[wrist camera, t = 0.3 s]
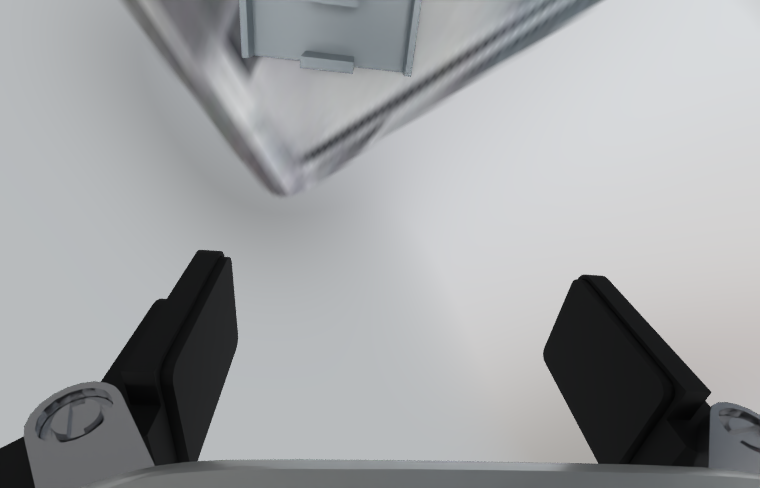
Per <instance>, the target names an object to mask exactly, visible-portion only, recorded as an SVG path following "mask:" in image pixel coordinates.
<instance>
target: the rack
mask: <svg viewBox="0 0 760 488" xmlns="http://www.w3.org/2000/svg"><path fill="white" fill-rule="evenodd" d="M421 1H422V0H239V9H240V29H241V48H242V57H243V58H250V57H252V56H254V55H256V56H264V57H273V58H282V59H291V60H299V61H300V68H307V69H316V70H324V71H333V72H342V73H351V74H353V67H360V68H369V69H378V70H386V71H395V72H403V74H404V75H405V76H410V77H411V72H412V65H413V58H414V51H415V44H416V37H417V30H418V23H419V16H420V8H421Z"/></svg>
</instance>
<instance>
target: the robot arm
mask: <svg viewBox="0 0 760 488" xmlns="http://www.w3.org/2000/svg"><path fill="white" fill-rule="evenodd" d="M234 297H235V296H234V286H233V273H232V262H231V258H230V257H224V254H223V252H222V251H209V250H198V251H197V252H196V254H195V256H194V257H193V259H192V261H191V262H190V263H189V265H188V267H187V268H186V270H185V271H184V273H183V274H182V276H181V278H180V279H179V281H178V282H177V284H176V285H175V287H174V288H173V290H172V292H171V293H170V295H169V296H168V298H167V299H159V300H157V301H156V302H155V303H154V304H153V305H152V307H151V308H150V310H149V311H148V313H147V314H146V316H145V317H144V319H143V320H142V322H141V323H140V324H139V326H138V328H137V329H136V331H135V332H134V334H133V335H132V337H131V338H130V339H129V341H128V342H127V344H126V345H125V347H124V348H123V350H122V351H121V353H120V354H119V356H118V357H117V359H116V360H115V362H114V363H113V365H112V366H111V368H110V370H108V372H107V373H106V375H105V376H104V378H103V379H102V381H101V382H87V383H80V384H77V385H74V386H71V387H67V388H65V389H63V390H61V391H59V392H57V393H55V394H53V395H52V396H50V397H49V398H48V399H46V400H45V401H43V402H42V403H41V404H40V405H39V406H38V407H37V408H36V409H35V410H34V411H33V412H32V414H31V415H30V416H29V418H28V420H27V422H26V424H25V426H24V437H22V438H20V439H18V440H16V441H14V442H12V443H10V444H8V445H6V446H4V447H2V448H0V488H760V415H759V414H757V413H755V412H753V411H751V410H750V409H748V408H745V407H742V406H740V405H737V404H733V403H728V402H720V403H719V402H718V403H716V404H714V405H713V406H712V407H710V406H709V405H708V404H707V403H706V401H705V400H706V399H707V397H708V396H709V395H710V394H711V391H710V390H709V389H708V388H707V387H706V386H705V385H704V384H703V383H702V381H701V380H700V379H699V378H698V377H697V376H696V375H695V374H694V373H693V372H692V370H691V369H690V368H689V367H688V366H687V365H686V364H685V363H684V362H683V361H682V360H681V359H680V357H679V356H678V355H677V354H676V353H675V352H674V351H673V350H672V349H671V348H670V346H669V345H668V344H667V343H666V342H665V341H664V340H663V339H662V338H661V337H660V335H659V334H658V333H657V332H656V331H655V330H654V329H653V328H652V327H651V326H650V325H649V323H648V322H646V320H645V319H644V318H643V317H642V316H641V315H640V314H639V313H638V311H637V310H636V309H635V308H634V307H633V306H632V305H631V304H630V303H629V302H628V300H627V299H626V298H625V297H624V296H623V295H622V294H621V293H620V292H619V291H618V290H617V289H616V287H614V285H613V284H612V283H611V282H610V281H609V280H608V279H607V278H606V277H605V276H597V275H582V276H580V277H579V278H578V279H577V280H574V281H573V283H572V284H571V287H570V289H569V292H568V294H567V296H566V298H565V301H564V303H563V305H562V308H561V310H560V312H559V315H558V317H557V319H556V322H555V325H554V326H553V329H552V331H551V334H550V336H549V339H548V341H547V343H546V345H545V348H544V352H543V356H544V361H545V363H546V365H547V367H548V369H549V371H550V373H551V374H552V376H553V378H554V380H555V382H556V384H557V386H558V388H559V390H560V391H561V393H562V395H563V397H564V399H565V401H566V403H567V405H568V407H569V409H570V410H571V412H572V414H573V416H574V418H575V420H576V422H577V424H578V426H579V428H580V429H581V431H582V433H583V435H584V437H585V439H586V441H587V443H588V445H589V446H590V448H591V450H592V452H593V454H594V456H595V458H596V460H597V462H598V464H582V463H580V464H579V463H533V462H474V461H472V462H471V461H404V460H403V461H402V460H401V461H400V460H397V461H396V460H303V459H299V460H298V459H297V460H216V461H198V458H199V455H200V452H201V449H202V446H203V443H204V440H205V438H206V435H207V432H208V429H209V426H210V423H211V420H212V417H213V414H214V411H215V409H216V406H217V403H218V400H219V397H220V394H221V391H222V388H223V385H224V383H225V379H226V377H227V374H228V371H229V368H230V365H231V362H232V359H233V357H234V354H235V351H236V347H237V342H238V330H237V319H236V307H235V298H234Z"/></svg>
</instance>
